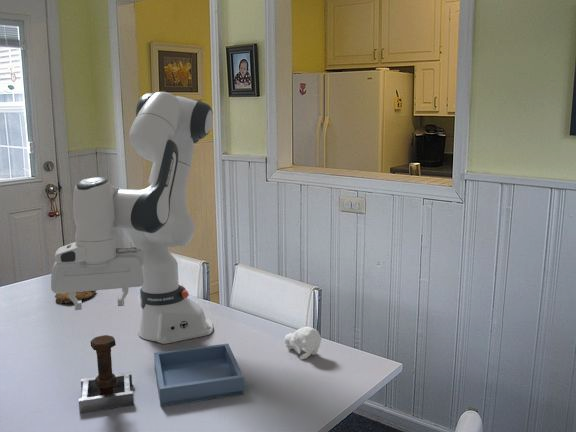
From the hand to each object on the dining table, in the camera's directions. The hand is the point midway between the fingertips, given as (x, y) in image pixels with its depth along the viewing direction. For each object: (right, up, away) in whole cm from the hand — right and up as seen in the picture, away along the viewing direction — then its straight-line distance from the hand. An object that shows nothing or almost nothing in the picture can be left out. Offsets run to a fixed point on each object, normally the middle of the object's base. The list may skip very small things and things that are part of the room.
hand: (100, 307), depth 133 cm
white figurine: (+47, -18, +29) cm, 58 cm away
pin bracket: (0, -23, +5) cm, 23 cm away
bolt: (0, -23, +5) cm, 23 cm away
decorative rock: (-32, -9, +73) cm, 81 cm away
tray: (+21, -21, +13) cm, 32 cm away
